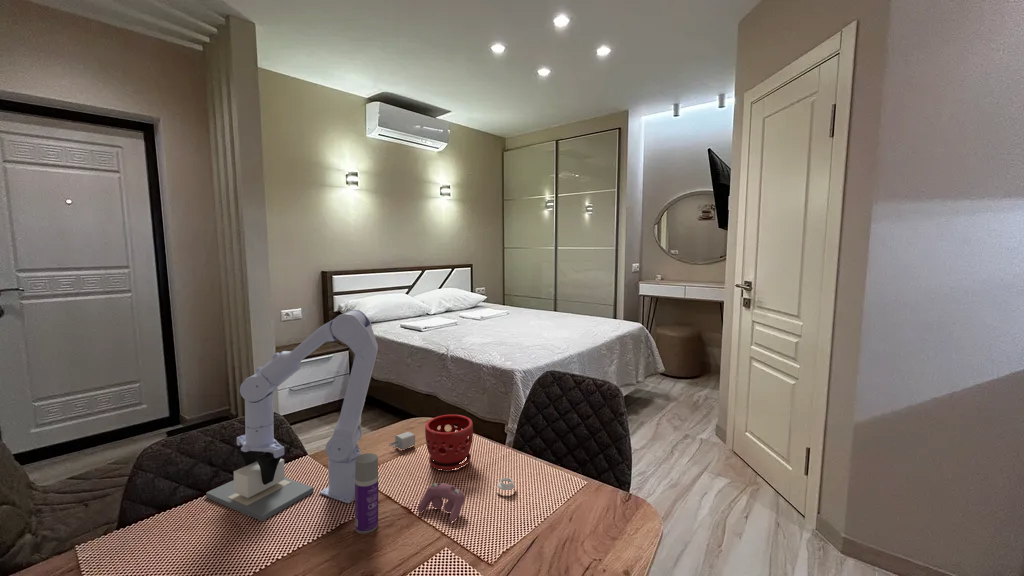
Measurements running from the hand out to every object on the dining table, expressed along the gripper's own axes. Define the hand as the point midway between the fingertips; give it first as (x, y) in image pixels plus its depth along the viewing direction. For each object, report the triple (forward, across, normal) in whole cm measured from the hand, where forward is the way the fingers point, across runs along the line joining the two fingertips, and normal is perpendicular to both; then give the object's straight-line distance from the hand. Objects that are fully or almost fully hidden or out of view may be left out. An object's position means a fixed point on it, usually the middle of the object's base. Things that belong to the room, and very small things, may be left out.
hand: (260, 479), depth 99 cm
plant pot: (+4, +31, +34) cm, 46 cm away
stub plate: (+4, 0, 0) cm, 4 cm away
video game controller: (+4, +42, +14) cm, 45 cm away
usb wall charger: (+4, +13, +35) cm, 37 cm away
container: (+4, +31, +2) cm, 31 cm away
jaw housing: (+2, 0, 0) cm, 2 cm away
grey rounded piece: (+4, +51, +28) cm, 59 cm away
